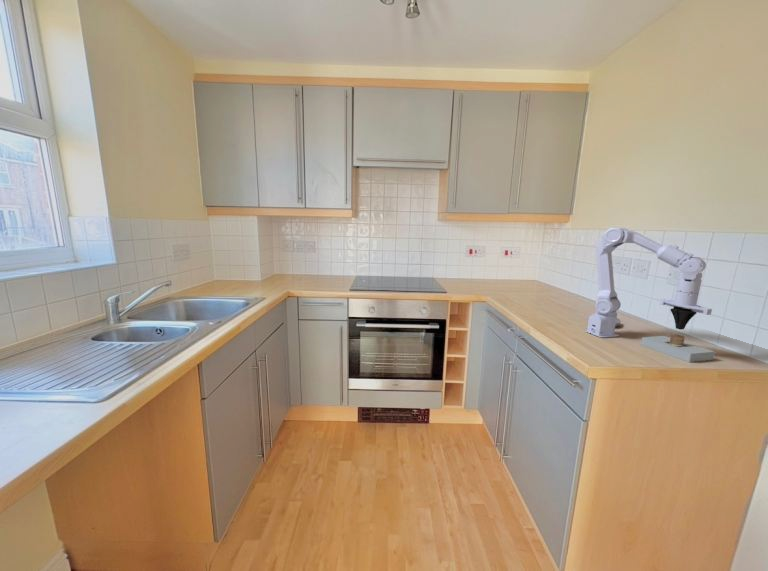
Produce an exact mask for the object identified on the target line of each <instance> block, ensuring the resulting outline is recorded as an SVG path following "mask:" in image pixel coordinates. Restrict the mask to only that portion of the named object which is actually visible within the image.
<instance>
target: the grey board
mask: <svg viewBox="0 0 768 571" xmlns="http://www.w3.org/2000/svg"><path fill="white" fill-rule="evenodd" d="M670 338H671V336H670V337H669V336H666V335H657V336H644V337H641V342H640V345H641V346H643V347H646V348H648V349H651V350H654V351H655V352H656V351H657V352H658V353H659V352H660V353H662V354H665V355H668V356H670V357H674V358H676V359H679V360H682V361H684V362H687V363H694V361H697V362H705V361H706V360H707V361H713V360H714V358H715V354H716V351H715V350H714V351H713V350H711V349H709V348H704V347H702V346H698V345H695V344H693V343H688V342H685V341H684V343H683V347H677V346H674V345H671V344H669V342H670Z"/></svg>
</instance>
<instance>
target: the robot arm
mask: <svg viewBox="0 0 768 571" xmlns="http://www.w3.org/2000/svg"><path fill="white" fill-rule="evenodd" d="M623 244H635V245H636V246H639V247H642V248H644V249H646V250H648V251H650V252H653V253H655V254H656V258H657V259H658V260H660V261H662V262H664V263H666V264H669V265H670V266H672V267H674V268H676V269H677V268H679V271H680V274H679V277H678V281H677V286H676V290H675V297H674V300H670V299H666V298H664V299H662V298H661V299H660V303H659V305H662V306H668V307H671V308H670V312H671V314H672V316H673V318H674V324H675V329H677V330H685V328H686V326H687V325H688V323H689V321H691V319H692V318H693V317H694V316H696V314H699V313H700V314H703V315H707V316H710V315H712V311H713V308H708V307H705V306H701V305H699V304H698V303H697V302H698V299H699V293H700V290H701V284H702V278H703V272H704V271H705V269H706V268H707V263H706V261H705V260H704V259H703V258H701V257H700V256H694V254H693V253H690V252H689V253H687V252H685V251H683V250H681V249H679V246H678V245H671V244H668V245H662V244H659V242H657V241H655V240H653V239H651V238H648V237H647V236H645V235H642V234H641V233H639V232H637V231H635V230H629V228H626V227H611V228H609V229H607V230H606V231H604V233H602V234H601V238H600V240H599V242H598V244H597V246H596V248H595V256H596V268H597V269H596V270H597V278H598V280H597V281H598V293H597V296H596V302H595V303H594V304H595V305H594V308H595V310H596V311H595V313H593V314H591V315H590V316H589V317H588V320H587V328H586V329H585V330H584V332H586V333H588V334H590V333H591V334H590V335H593V336H596V337H598V338H615V337H620V335H619V334H617V333H615V330H616V329H615V328H616V327H615V325H616V319H617V318H618V312H617V311H618V310H619V309H620V308H621V304H622V303H621V301H620V300H619V298H618V293H617V292H616V290H615V281H614V270H613V269H614V268H613V267H614V266H613V256H612V253H613V251H615V250H616V249H617V248H618V247H619V246H622V245H623Z"/></svg>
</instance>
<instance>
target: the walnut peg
mask: <svg viewBox="0 0 768 571" xmlns="http://www.w3.org/2000/svg"><path fill="white" fill-rule="evenodd" d="M684 342H685V336H683V335H679V334H670V342H669V344H671V345H674V346H677V347H683V343H684Z"/></svg>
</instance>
